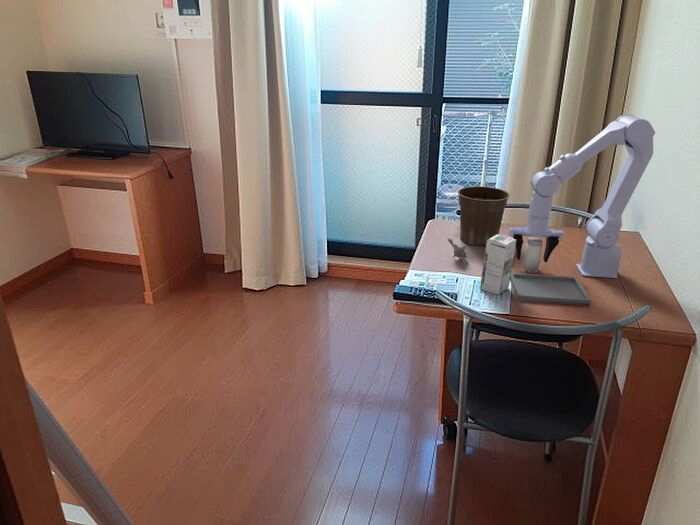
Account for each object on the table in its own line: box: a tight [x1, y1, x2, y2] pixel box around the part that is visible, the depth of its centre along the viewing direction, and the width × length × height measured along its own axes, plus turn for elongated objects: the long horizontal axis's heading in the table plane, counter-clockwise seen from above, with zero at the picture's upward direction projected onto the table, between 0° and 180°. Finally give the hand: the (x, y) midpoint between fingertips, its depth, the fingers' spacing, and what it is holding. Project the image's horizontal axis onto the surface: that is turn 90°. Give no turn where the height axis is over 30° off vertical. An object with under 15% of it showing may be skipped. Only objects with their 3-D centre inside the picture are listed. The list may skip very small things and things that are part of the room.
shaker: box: [521, 236, 543, 273], centre depth 156 cm, size 4×4×9 cm
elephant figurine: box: [447, 238, 470, 266], centre depth 162 cm, size 10×6×9 cm
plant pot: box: [457, 185, 511, 247], centre depth 176 cm, size 16×16×16 cm
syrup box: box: [479, 234, 516, 296], centre depth 142 cm, size 6×6×14 cm
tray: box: [509, 272, 591, 306], centre depth 144 cm, size 18×14×2 cm
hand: (531, 259), depth 156 cm, fingers open, 7 cm apart
